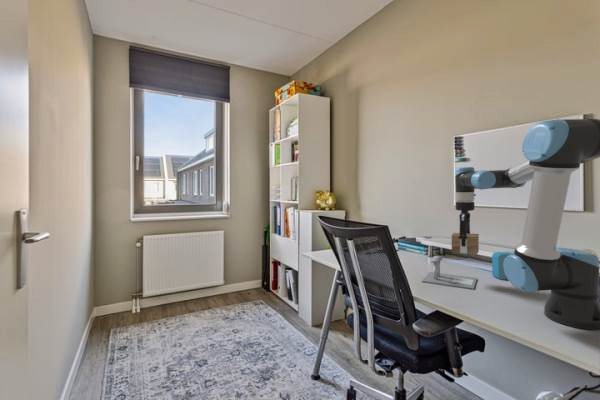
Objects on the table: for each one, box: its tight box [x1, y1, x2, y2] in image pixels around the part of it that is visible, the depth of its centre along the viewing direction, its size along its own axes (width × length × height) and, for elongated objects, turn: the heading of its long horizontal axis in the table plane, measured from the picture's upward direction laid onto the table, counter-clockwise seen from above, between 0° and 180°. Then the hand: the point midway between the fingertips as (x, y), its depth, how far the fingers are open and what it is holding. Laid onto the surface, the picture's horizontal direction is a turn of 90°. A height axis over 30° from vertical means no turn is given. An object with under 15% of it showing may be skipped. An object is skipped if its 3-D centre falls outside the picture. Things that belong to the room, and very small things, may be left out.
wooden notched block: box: [451, 232, 480, 256], centre depth 137 cm, size 7×10×8 cm
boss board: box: [421, 255, 478, 290], centre depth 141 cm, size 16×21×10 cm
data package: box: [491, 251, 514, 281], centre depth 142 cm, size 12×4×12 cm, turn 91°
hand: (464, 251), depth 138 cm, fingers closed on wooden notched block, 7 cm apart
